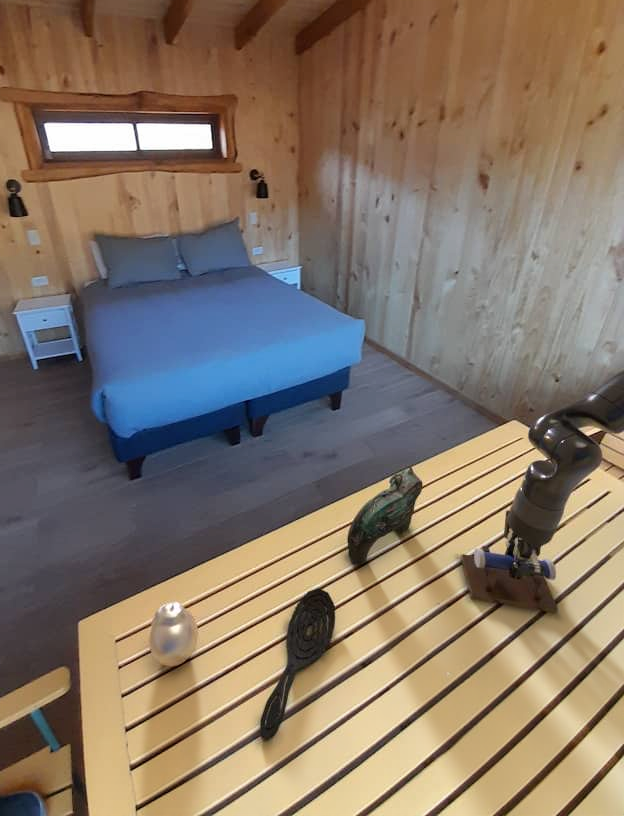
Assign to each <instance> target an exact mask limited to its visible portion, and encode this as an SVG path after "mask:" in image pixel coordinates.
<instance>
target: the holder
mask: <svg viewBox="0 0 624 816" xmlns="http://www.w3.org/2000/svg"><path fill="white" fill-rule="evenodd" d="M481 549H482V550H483V552H490V548H489V546H488V545H482V546H481ZM490 553H491V552H490ZM460 562H461V567H462V570H463V575H464V578H465V581H466V587H467V590H468V593H469V597H470V599H472V600H478V601H483V602H489V603H493V604H494V603H495V604H500V605H506V606H510V607H511V606H512V607H516V608H523V609H528V610H534V611H540V612H545V613H552V614H557V613H558V611H559V607H558V606H557V602H556V601H555V599H554V596H553V594H552V591H551V589H550V587H549V584H548V582H547V579H546V578H545V577H544V576H539V575H537V576H534V577H530V576H524V575H523V577H522V580H518V579H513V578H510V576H509V571H508V570H502V569H496V568H490V567H484V568H478V567H477V566H476V564H475V560H474V555H469V554H464V553H463V554H462V553H461V555H460Z"/></svg>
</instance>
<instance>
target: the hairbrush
mask: <svg viewBox="0 0 624 816" xmlns="http://www.w3.org/2000/svg"><path fill="white" fill-rule="evenodd" d="M335 625H336V606H335V603H334V601H333V599H332V596H331V595H330V593H329V592H328V591H326V590H324V589H321V588H320V587H317V588H314V589H310V590H307V591H306V593H304V596H302V597H301V599H300V600H299V602H298V603H297V604H296V606H294V611H292V614H291V618H290V620H289V622H288V626H287V633H286V640H285V641H286V642H285V644H286V655H287V661H286V662H287V663H286V667H285V669H284V670H283V673H282V674H281V676H280V678H279V680H278V683H277V684H276V686H275V688H274V689H273V691H272V692H271V694H270V695H269V697H268V698H267V700H266V702H265V705H264V708H263V710H262V714H261V717H260V720H259V721H260V724H259V726H260V729H259V730H260V737H261V739H263V740H265V741H266V742H267V741H269V740H270V739H272V738H273V737H274V736H275V735H276V734H277V732H278V730H279V728H280V726H281V724H282V721H283V719H284V717H285V713H286V709H287V704H288V700H289V694H290V690H291V688H292V686H293V683H294V680H295V677H296V674H297V673H298V672H300V670H302V669H303V668H305V667H307V666H309V665H311V664H313V663H315V662H317V660H319V659H320V658H321V656H322V655H323V654H324V653H325V652H326V650H327V649H328V646H329V645H330V643H331V641H332V638H333V633H334V630H335ZM310 626H311V631H309V634H308V628H309V627H310Z"/></svg>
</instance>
